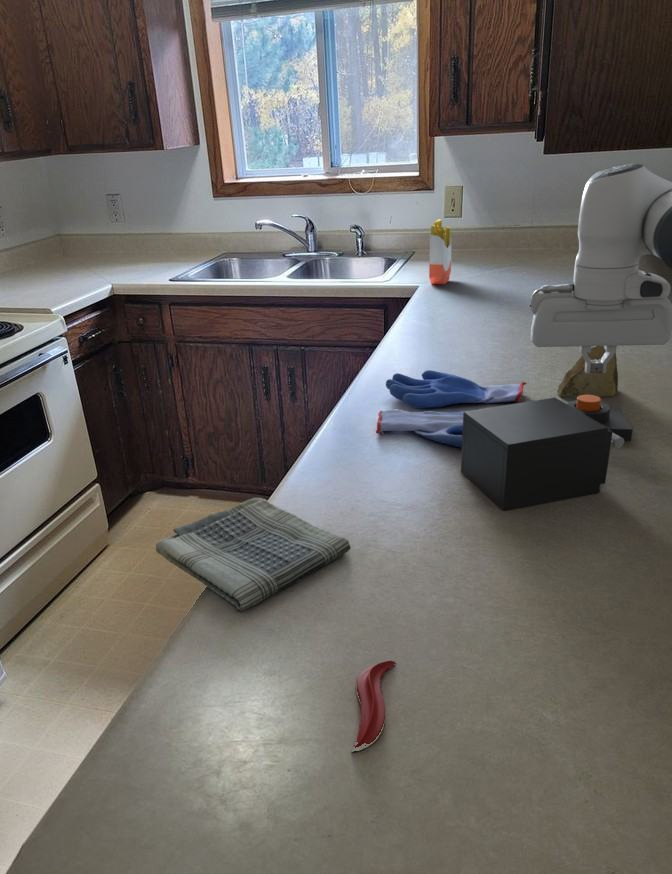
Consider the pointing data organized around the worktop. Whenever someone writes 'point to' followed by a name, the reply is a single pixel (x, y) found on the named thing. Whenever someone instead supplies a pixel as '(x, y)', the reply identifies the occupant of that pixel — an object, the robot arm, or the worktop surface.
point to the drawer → (611, 441)
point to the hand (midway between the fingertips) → (595, 372)
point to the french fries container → (440, 253)
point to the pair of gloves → (439, 404)
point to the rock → (590, 378)
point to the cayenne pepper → (371, 702)
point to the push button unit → (609, 419)
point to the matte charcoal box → (532, 452)
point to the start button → (588, 403)
